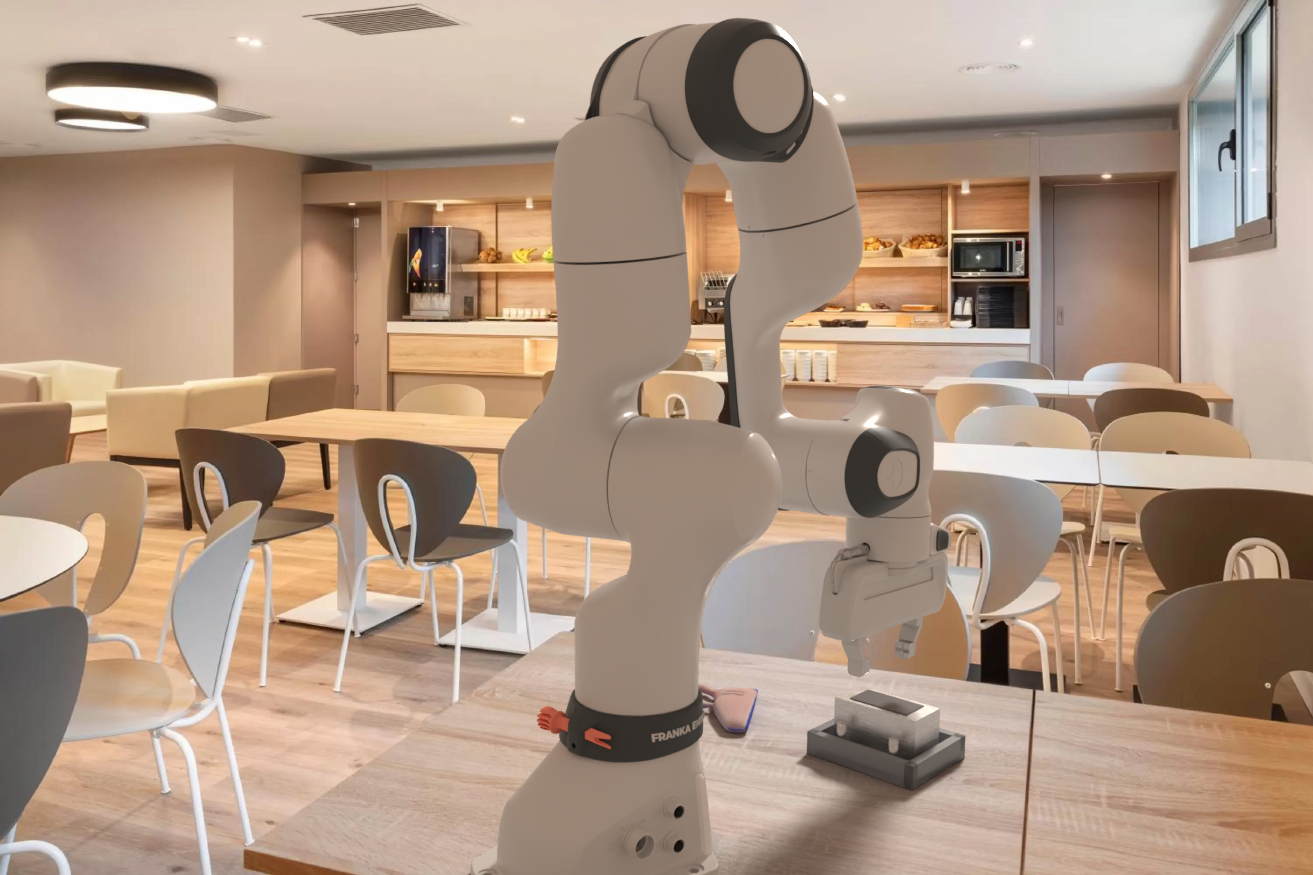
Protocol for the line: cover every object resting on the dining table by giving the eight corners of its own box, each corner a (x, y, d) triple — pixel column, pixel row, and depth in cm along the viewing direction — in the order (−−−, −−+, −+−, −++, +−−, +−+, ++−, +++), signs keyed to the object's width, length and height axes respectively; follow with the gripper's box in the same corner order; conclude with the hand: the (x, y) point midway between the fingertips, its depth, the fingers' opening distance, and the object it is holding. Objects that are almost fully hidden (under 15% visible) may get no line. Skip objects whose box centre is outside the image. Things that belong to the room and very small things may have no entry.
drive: (914, 767, 110) (915, 720, 109) (833, 740, 117) (834, 695, 116) (938, 752, 114) (940, 707, 113) (858, 727, 120) (860, 684, 120)
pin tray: (912, 790, 107) (913, 752, 106) (806, 753, 116) (807, 718, 115) (964, 757, 115) (966, 722, 114) (862, 724, 124) (863, 692, 123)
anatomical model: (747, 741, 121) (761, 694, 135) (748, 717, 120) (761, 672, 135) (575, 724, 125) (607, 681, 139) (576, 701, 124) (607, 659, 139)
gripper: (859, 555, 103) (854, 694, 104) (959, 531, 118) (954, 653, 119) (806, 546, 107) (801, 679, 108) (909, 524, 122) (904, 641, 123)
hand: (882, 665), depth 114 cm, fingers open, 8 cm apart
